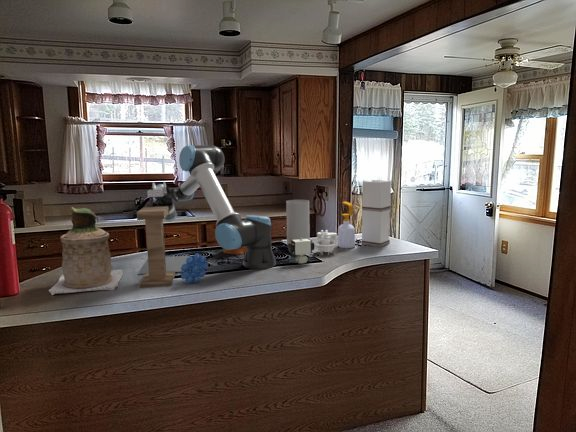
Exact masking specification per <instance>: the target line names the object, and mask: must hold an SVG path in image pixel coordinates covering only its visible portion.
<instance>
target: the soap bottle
mask: <svg viewBox="0 0 576 432" xmlns="http://www.w3.org/2000/svg"><path fill="white" fill-rule="evenodd" d="M342 204H344V205H345V206H348V213H342V214H341V216H343V217H344V219H343V224H340V225H339V226H338V228H337V246H338V247H339V248H341V249H351V248H352V249H353V248H355V246H356V241H355V239H356V229H355V227H354V226H353V225H352V224H350V218H349V217H350V216H353V213H354V205H353V204H352V203H351V202H348V201H347V200H346V201H342Z"/></svg>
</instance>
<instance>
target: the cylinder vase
mask: <svg viewBox="0 0 576 432" xmlns="http://www.w3.org/2000/svg"><path fill="white" fill-rule="evenodd" d="M285 203H286V204H285V207H286V210H285V211H286V245H287V247H288V244H289V243H290V242H291V240H297V239H300V238H302V239H310V240H311V238H310V234H311V233H310V229H311V228H310V200H308V199H289V200H286V202H285Z"/></svg>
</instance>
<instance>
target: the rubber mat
mask: <svg viewBox="0 0 576 432" xmlns="http://www.w3.org/2000/svg"><path fill="white" fill-rule="evenodd" d="M188 257H191V256H190V255H175V256H165V259H166V271H175V272H180V273H182V270H181V267H182V265H183V264H187V263H186V259H187V258H188ZM146 272H149V267H148V259H147V260H146V261H145V263H144V264H143V265H142V267H141V268H140V270H139V272H138V273H137V276H145V274H146Z"/></svg>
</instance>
